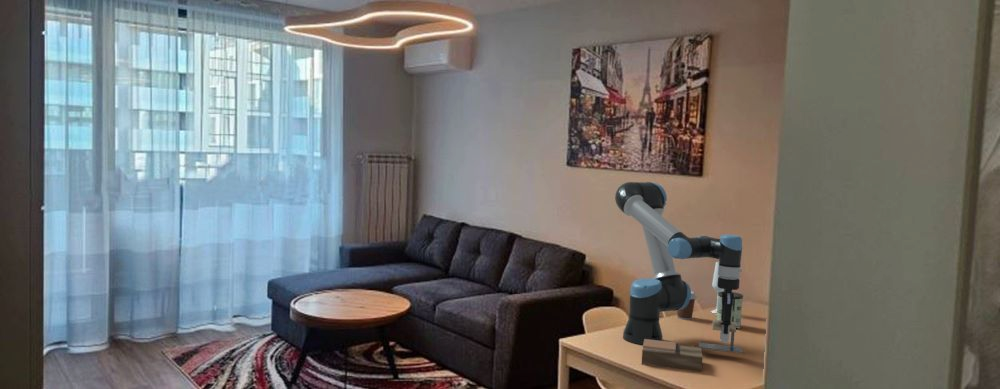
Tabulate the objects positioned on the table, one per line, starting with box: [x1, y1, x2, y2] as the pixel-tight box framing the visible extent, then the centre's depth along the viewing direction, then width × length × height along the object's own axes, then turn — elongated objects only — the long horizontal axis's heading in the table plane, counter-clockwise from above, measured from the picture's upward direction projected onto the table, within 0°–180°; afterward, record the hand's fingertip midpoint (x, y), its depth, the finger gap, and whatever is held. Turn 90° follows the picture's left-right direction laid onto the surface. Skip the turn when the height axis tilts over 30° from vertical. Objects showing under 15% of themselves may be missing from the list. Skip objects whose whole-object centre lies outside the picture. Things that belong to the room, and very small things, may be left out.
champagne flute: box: [710, 261, 724, 314], centre depth 315 cm, size 7×7×24 cm
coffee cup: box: [676, 290, 697, 321], centre depth 302 cm, size 9×9×12 cm
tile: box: [642, 339, 677, 353], centre depth 237 cm, size 9×11×1 cm
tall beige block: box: [698, 319, 743, 354], centre depth 246 cm, size 15×6×10 cm, turn 76°
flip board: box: [641, 343, 703, 373], centre depth 236 cm, size 12×20×6 cm, turn 76°
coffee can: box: [716, 291, 744, 329], centre depth 292 cm, size 10×10×14 cm
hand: (724, 340), depth 246 cm, fingers closed on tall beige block, 3 cm apart
